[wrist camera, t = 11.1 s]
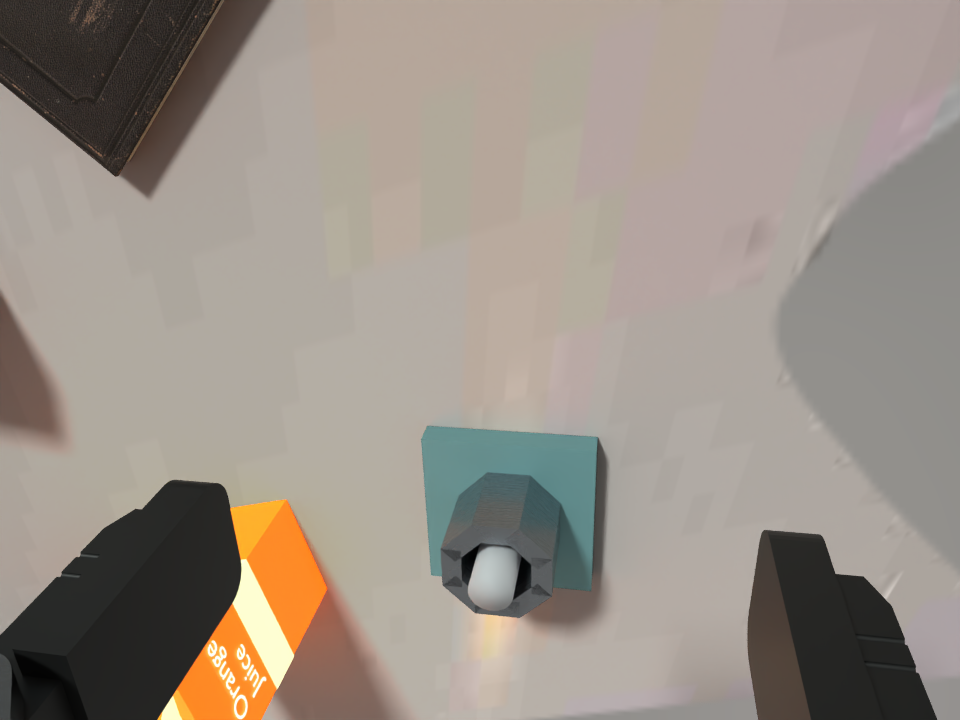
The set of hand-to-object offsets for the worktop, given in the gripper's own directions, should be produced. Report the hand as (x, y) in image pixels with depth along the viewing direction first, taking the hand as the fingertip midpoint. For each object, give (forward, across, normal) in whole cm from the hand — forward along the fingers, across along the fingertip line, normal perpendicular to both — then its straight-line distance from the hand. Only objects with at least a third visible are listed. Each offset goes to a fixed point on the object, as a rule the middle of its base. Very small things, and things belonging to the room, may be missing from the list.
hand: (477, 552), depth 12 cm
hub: (+28, +4, +21) cm, 36 cm away
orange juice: (+30, +22, +27) cm, 46 cm away
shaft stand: (+30, +4, +21) cm, 37 cm away
